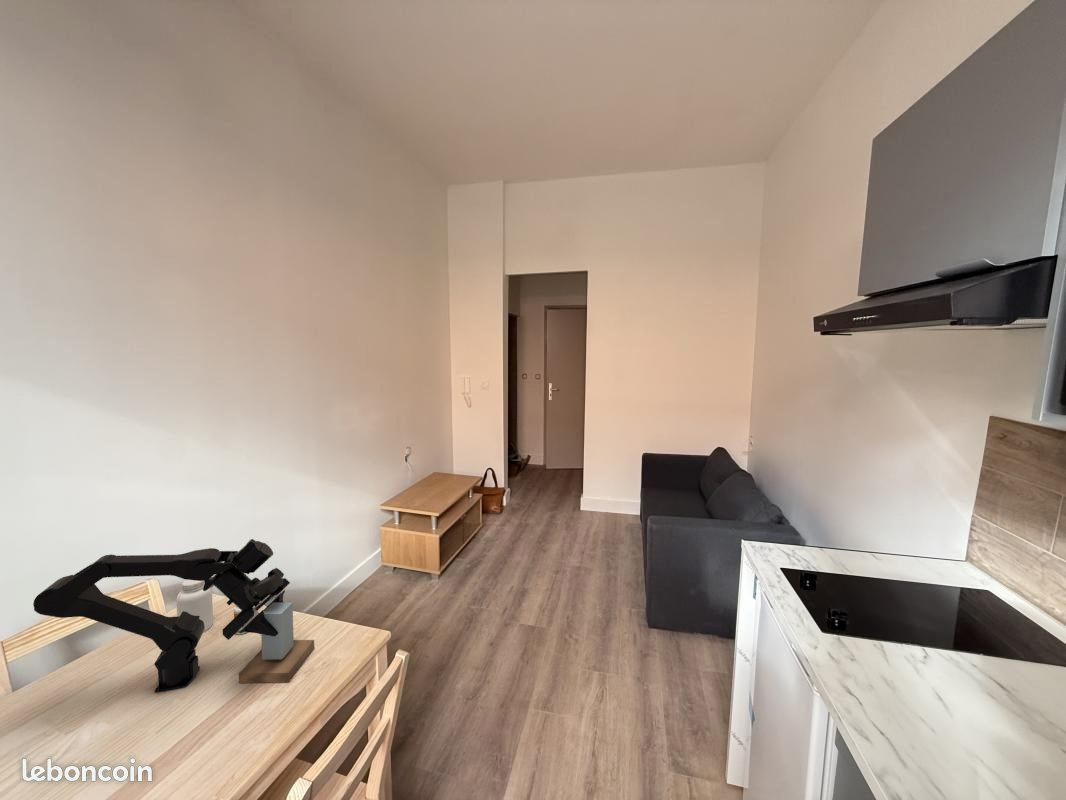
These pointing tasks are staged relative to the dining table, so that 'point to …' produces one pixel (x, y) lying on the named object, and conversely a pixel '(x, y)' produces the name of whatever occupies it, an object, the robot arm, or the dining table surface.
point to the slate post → (283, 623)
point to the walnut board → (277, 665)
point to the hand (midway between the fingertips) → (283, 628)
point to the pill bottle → (196, 601)
